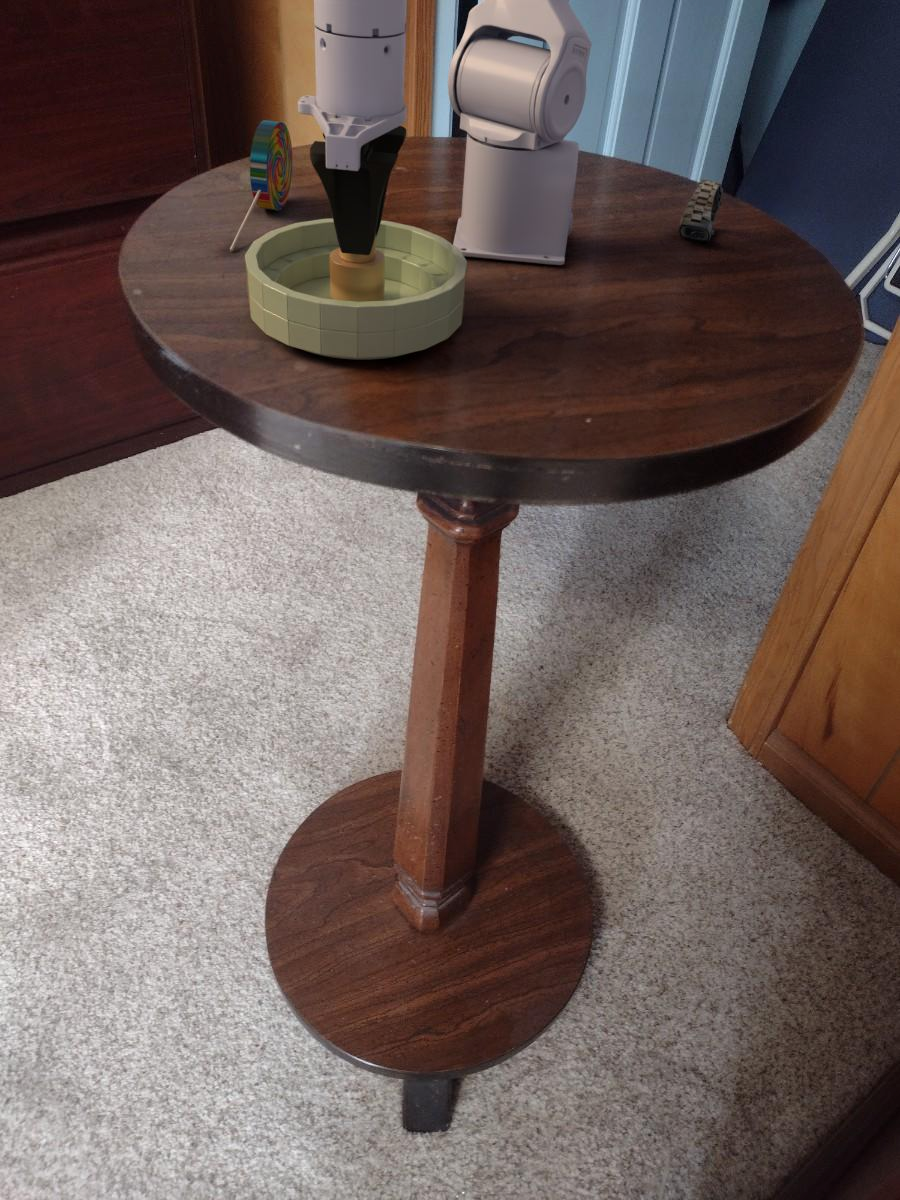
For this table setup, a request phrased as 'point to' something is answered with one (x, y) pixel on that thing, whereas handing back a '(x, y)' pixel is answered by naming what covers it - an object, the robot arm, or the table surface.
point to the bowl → (346, 328)
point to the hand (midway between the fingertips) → (359, 243)
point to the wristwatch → (701, 212)
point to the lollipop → (269, 168)
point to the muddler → (357, 276)
